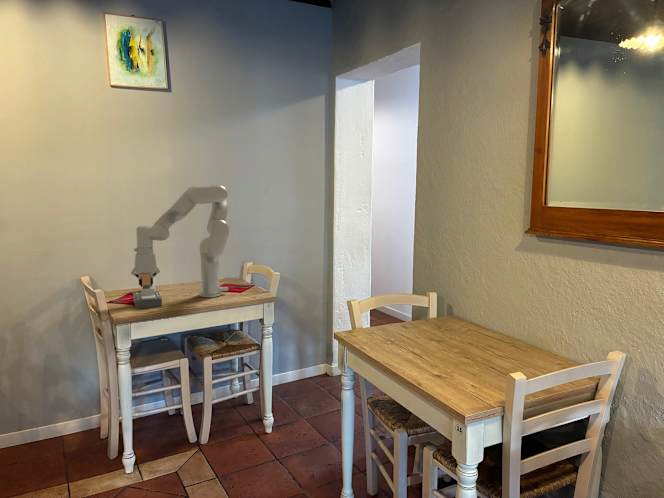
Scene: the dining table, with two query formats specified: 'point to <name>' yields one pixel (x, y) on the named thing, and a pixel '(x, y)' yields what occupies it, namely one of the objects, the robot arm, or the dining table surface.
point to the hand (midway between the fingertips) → (146, 285)
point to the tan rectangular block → (146, 280)
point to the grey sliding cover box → (147, 301)
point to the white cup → (152, 284)
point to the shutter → (147, 294)
